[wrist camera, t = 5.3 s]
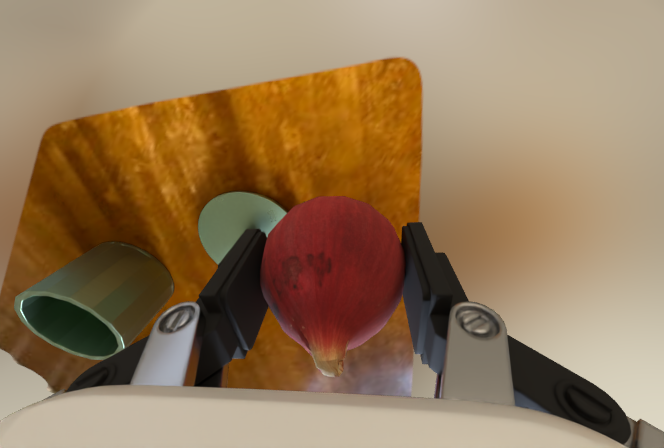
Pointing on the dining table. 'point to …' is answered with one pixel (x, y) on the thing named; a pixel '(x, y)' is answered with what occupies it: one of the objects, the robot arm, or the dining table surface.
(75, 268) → the pot
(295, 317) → the onion
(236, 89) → the dining table surface
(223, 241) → the lid
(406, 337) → the dining table surface
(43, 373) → the dining table surface
